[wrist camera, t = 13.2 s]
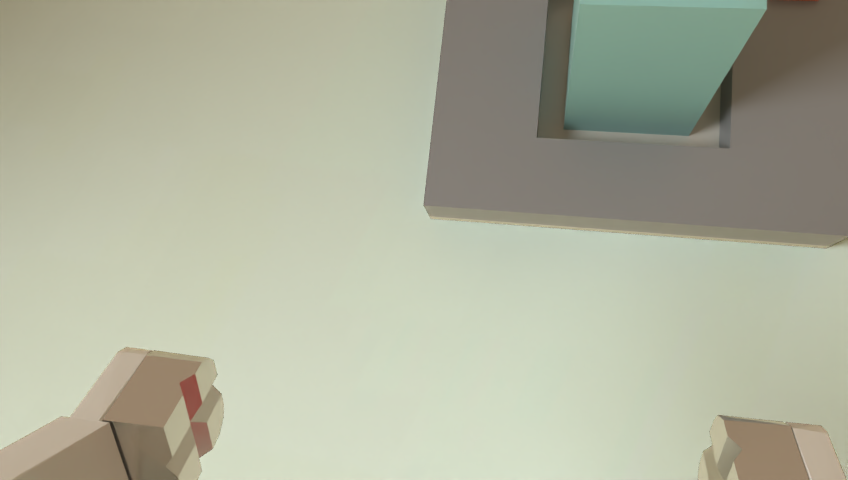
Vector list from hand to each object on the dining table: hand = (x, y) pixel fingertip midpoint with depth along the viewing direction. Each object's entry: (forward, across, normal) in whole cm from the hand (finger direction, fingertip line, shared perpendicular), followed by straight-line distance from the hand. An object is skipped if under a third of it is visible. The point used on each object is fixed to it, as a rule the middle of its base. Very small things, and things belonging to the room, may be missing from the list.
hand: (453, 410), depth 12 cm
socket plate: (+19, -4, +1) cm, 20 cm away
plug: (+19, -4, +1) cm, 19 cm away
